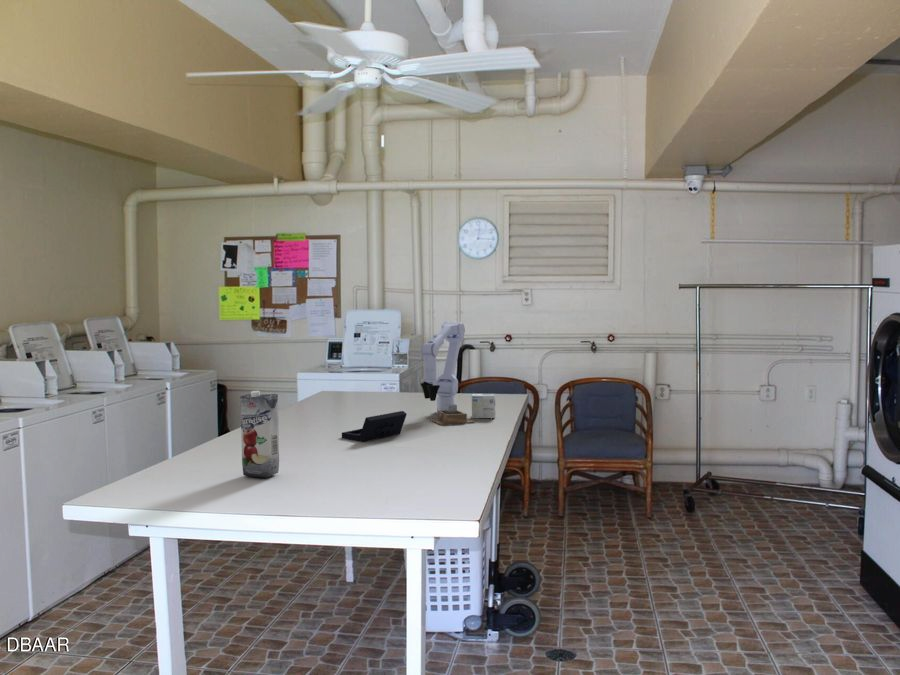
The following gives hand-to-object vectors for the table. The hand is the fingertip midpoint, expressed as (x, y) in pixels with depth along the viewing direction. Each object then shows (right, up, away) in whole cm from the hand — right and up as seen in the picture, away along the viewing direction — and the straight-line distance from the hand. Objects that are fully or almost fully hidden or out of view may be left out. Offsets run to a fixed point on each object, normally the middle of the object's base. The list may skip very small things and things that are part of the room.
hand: (430, 399), depth 331 cm
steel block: (+10, -9, -3) cm, 13 cm away
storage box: (-21, -12, -36) cm, 44 cm away
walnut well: (+10, -10, -3) cm, 14 cm away
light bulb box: (+24, -9, +7) cm, 27 cm away
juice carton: (-51, -16, -97) cm, 111 cm away
